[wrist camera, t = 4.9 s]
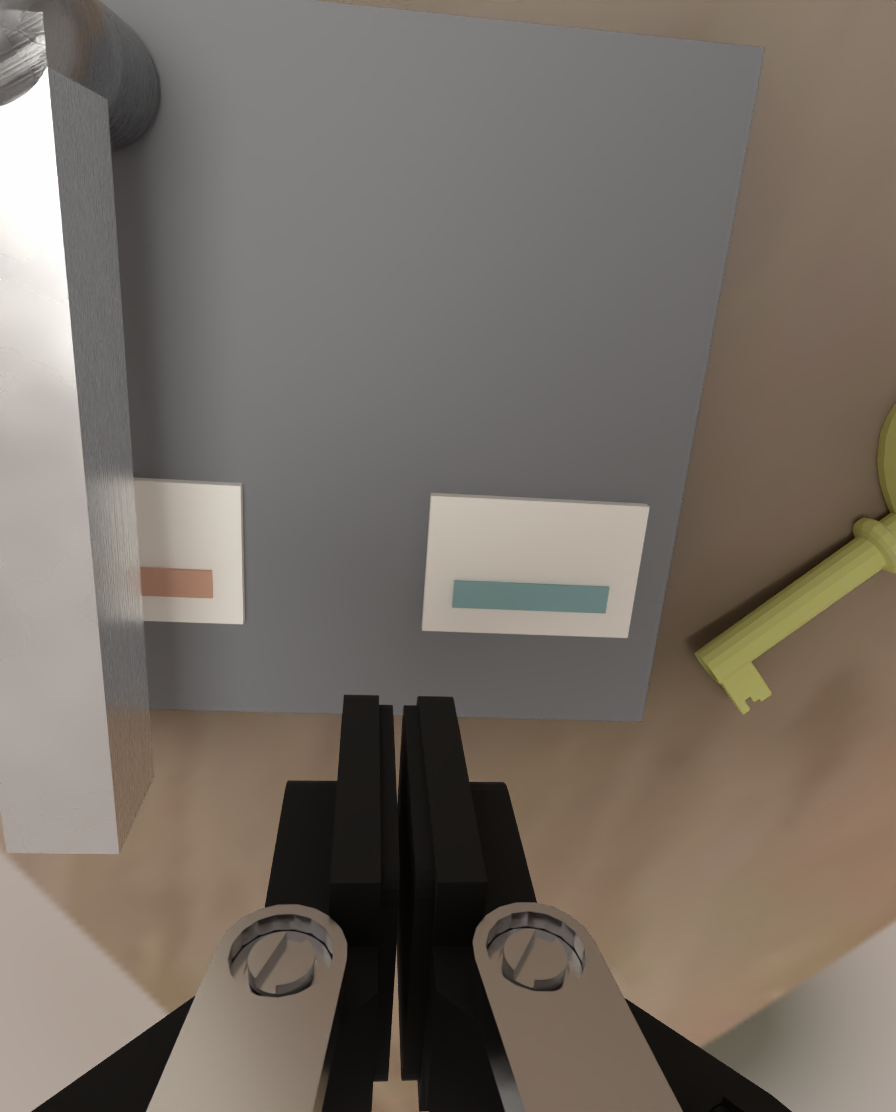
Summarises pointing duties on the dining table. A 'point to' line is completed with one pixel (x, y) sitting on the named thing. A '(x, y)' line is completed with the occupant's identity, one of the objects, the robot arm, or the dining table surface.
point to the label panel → (417, 350)
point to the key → (807, 591)
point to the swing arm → (68, 435)
